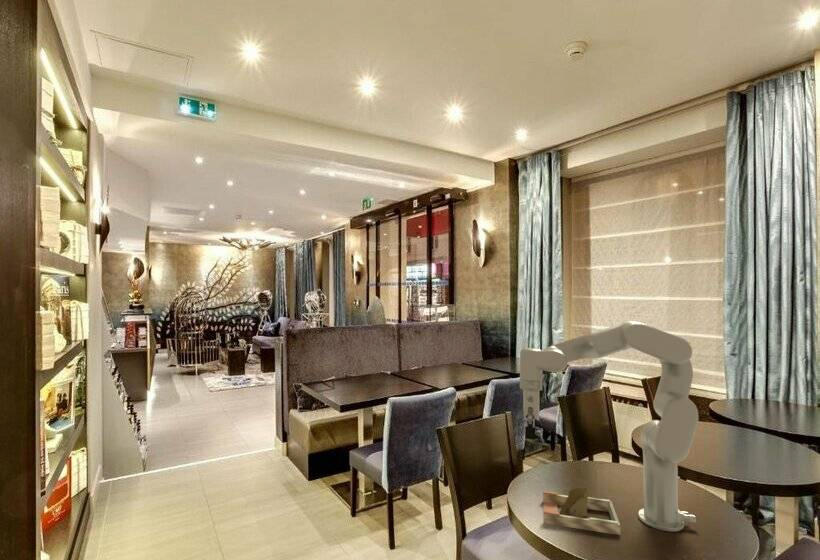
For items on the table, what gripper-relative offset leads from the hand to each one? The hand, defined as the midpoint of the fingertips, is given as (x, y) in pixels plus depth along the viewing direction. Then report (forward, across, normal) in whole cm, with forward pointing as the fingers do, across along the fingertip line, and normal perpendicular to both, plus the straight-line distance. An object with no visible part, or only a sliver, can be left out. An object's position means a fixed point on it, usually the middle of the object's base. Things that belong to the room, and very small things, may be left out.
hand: (530, 434), depth 145 cm
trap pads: (+24, -2, -7) cm, 25 cm away
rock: (+24, -2, -14) cm, 28 cm away
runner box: (+24, -2, -16) cm, 29 cm away
